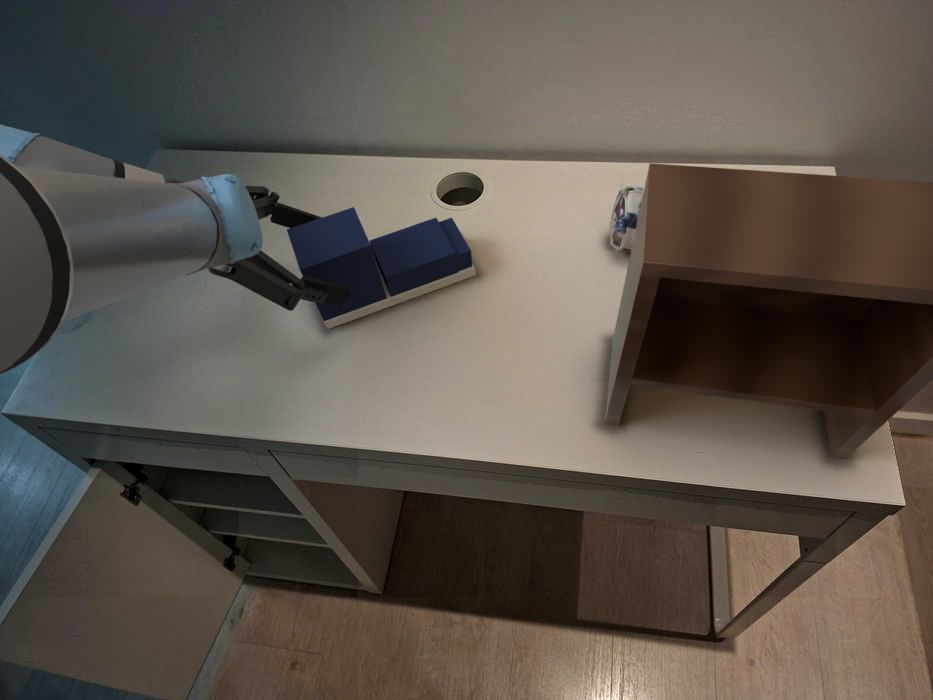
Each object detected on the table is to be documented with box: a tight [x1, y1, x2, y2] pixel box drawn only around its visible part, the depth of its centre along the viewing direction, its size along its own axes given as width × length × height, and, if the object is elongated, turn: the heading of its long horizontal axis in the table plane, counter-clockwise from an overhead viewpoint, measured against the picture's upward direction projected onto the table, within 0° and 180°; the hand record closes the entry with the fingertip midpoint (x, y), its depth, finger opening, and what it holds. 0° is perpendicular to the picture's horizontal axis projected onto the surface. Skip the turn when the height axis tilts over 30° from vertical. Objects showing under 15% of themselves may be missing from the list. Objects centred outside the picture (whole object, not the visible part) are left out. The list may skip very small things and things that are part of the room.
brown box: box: [604, 163, 933, 460], centre depth 59 cm, size 26×12×28 cm, turn 78°
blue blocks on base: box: [286, 206, 477, 330], centre depth 80 cm, size 22×8×12 cm, turn 112°
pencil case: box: [609, 179, 644, 253], centre depth 80 cm, size 22×8×10 cm, turn 84°
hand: (332, 260), depth 78 cm, fingers open, 13 cm apart
